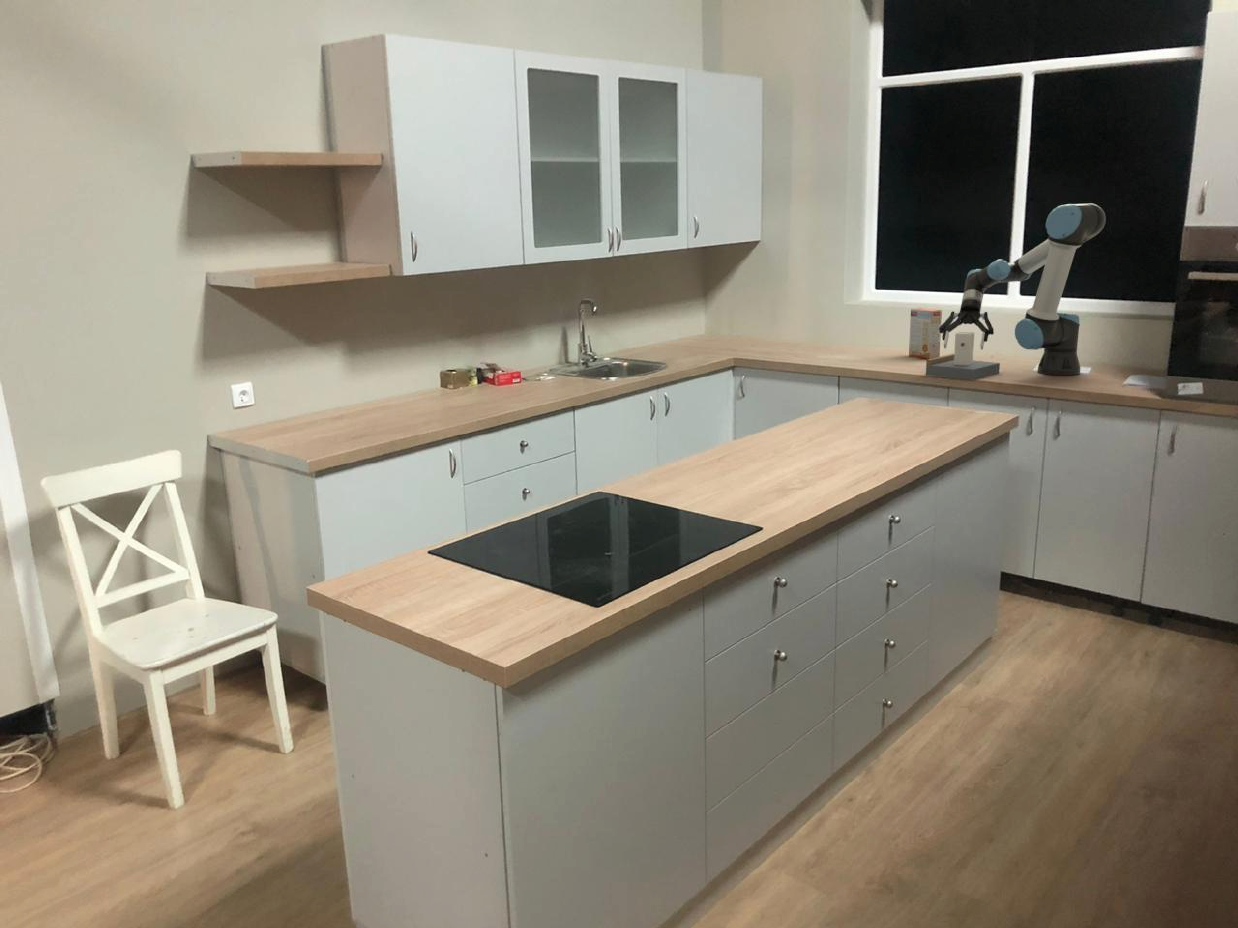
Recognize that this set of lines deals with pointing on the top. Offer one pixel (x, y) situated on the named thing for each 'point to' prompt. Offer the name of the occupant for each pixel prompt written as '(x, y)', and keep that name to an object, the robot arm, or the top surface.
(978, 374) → the riser
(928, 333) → the cracker box
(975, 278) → the robot arm
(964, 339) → the cabinet block
